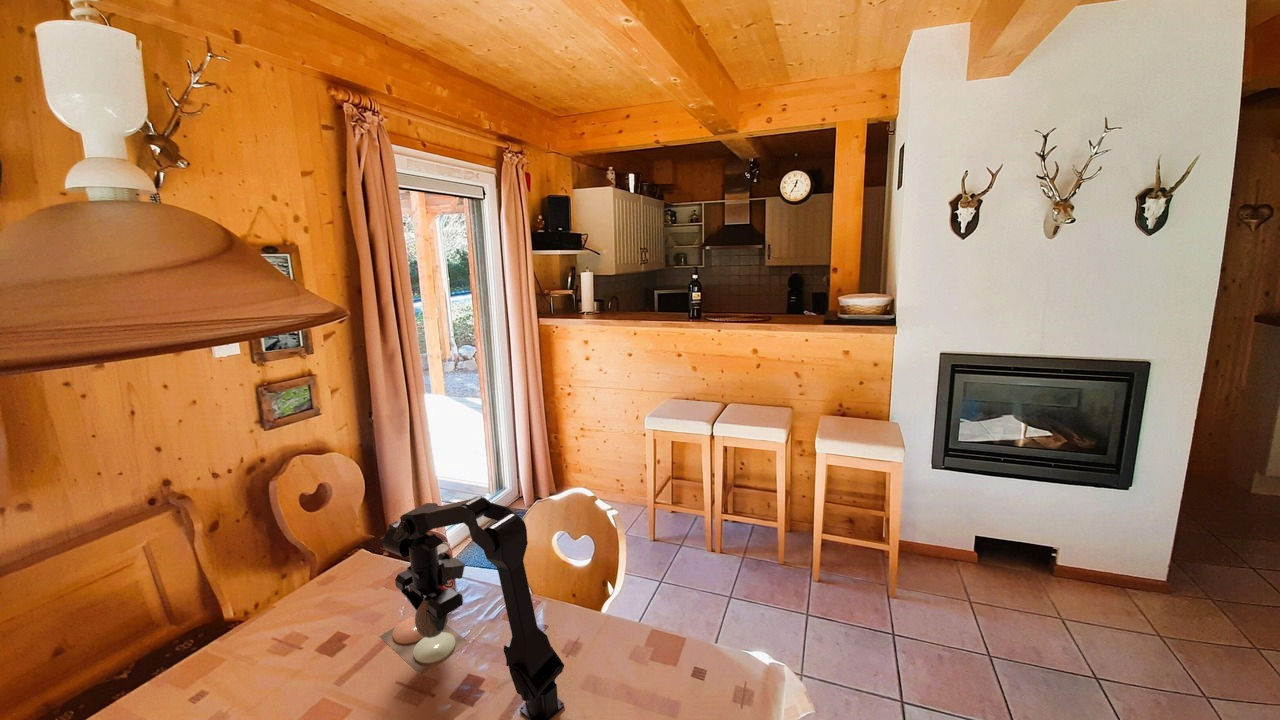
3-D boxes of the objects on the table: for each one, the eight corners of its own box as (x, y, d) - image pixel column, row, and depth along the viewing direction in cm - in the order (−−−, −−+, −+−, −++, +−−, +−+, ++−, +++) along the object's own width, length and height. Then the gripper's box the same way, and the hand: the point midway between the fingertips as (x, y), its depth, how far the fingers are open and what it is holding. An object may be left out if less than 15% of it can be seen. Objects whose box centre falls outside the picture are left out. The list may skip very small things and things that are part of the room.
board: (469, 646, 121) (469, 642, 121) (421, 679, 112) (420, 675, 112) (426, 612, 133) (426, 609, 133) (379, 639, 124) (379, 636, 124)
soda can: (447, 601, 137) (442, 557, 134) (422, 598, 138) (417, 554, 136) (461, 585, 144) (457, 542, 141) (437, 582, 145) (433, 540, 142)
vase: (430, 619, 123) (426, 585, 121) (455, 624, 121) (451, 590, 119) (410, 639, 116) (405, 604, 114) (436, 645, 114) (431, 610, 112)
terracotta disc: (440, 627, 126) (440, 625, 126) (404, 650, 119) (404, 647, 119) (421, 612, 131) (421, 610, 131) (385, 632, 125) (385, 630, 124)
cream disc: (463, 645, 120) (463, 643, 120) (426, 670, 113) (426, 667, 113) (442, 629, 126) (441, 626, 125) (405, 651, 119) (405, 649, 119)
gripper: (481, 558, 115) (487, 620, 118) (435, 532, 127) (442, 589, 130) (434, 583, 107) (442, 649, 110) (390, 553, 118) (398, 613, 121)
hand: (432, 623), depth 118 cm, fingers closed on vase, 7 cm apart
